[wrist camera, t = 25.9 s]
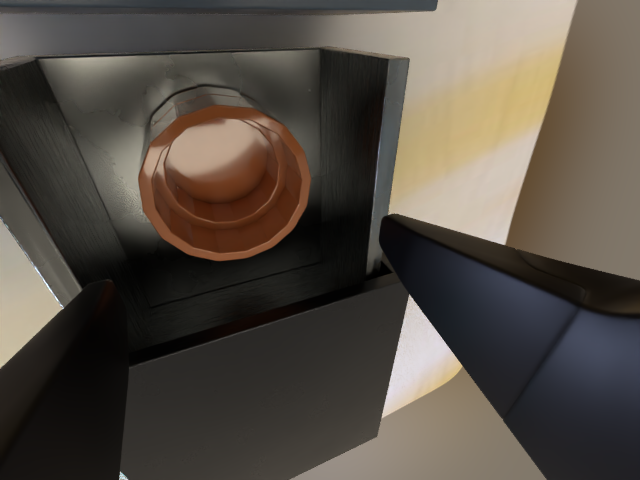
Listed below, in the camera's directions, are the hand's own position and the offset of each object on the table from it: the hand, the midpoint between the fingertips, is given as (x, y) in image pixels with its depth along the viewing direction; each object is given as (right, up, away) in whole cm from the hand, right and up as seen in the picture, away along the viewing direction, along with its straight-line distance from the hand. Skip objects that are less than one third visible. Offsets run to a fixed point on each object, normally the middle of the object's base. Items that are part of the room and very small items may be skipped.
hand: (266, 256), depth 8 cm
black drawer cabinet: (-4, -5, +15) cm, 16 cm away
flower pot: (-3, +4, +6) cm, 8 cm away
